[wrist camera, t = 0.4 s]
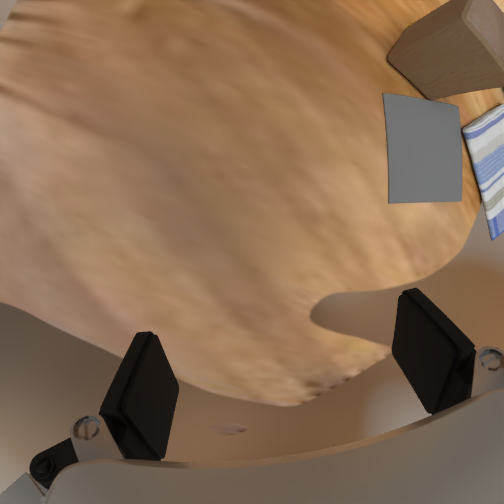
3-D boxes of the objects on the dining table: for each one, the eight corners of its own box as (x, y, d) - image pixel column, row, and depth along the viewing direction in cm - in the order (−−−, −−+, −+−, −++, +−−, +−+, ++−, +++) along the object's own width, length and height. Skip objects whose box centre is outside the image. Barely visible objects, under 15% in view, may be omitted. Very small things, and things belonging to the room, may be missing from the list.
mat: (382, 93, 34) (383, 93, 34) (457, 106, 34) (458, 106, 34) (388, 203, 40) (389, 203, 39) (460, 201, 40) (461, 201, 39)
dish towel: (500, 100, 32) (510, 100, 30) (525, 202, 39) (534, 205, 37) (456, 126, 35) (467, 126, 32) (487, 240, 42) (495, 244, 39)
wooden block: (448, 67, 31) (529, 45, 12) (428, 102, 34) (521, 88, 15) (406, 26, 29) (479, -18, 10) (383, 60, 32) (464, 15, 13)
